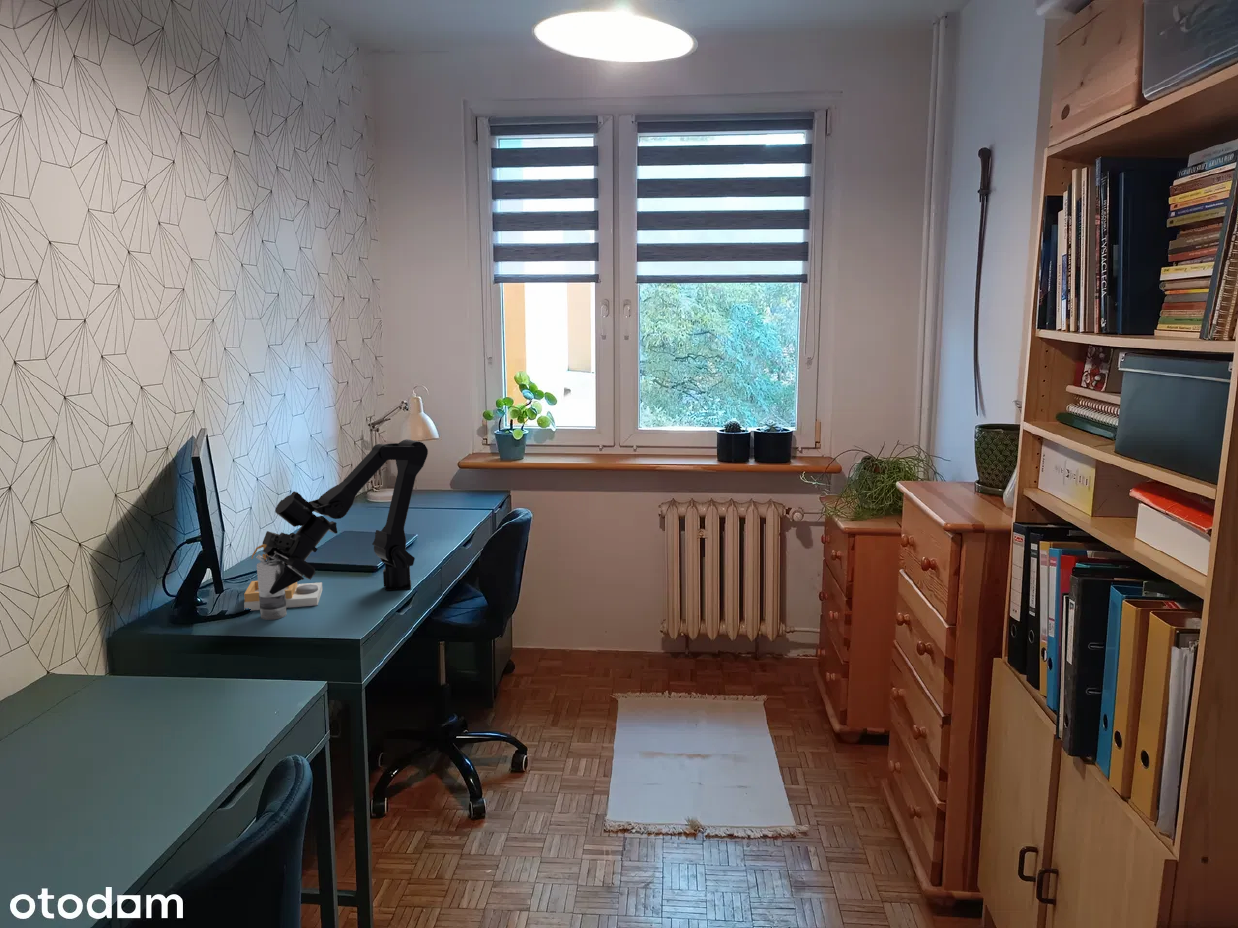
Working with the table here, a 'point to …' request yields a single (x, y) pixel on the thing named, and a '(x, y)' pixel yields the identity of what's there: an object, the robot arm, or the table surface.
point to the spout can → (269, 603)
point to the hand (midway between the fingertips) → (265, 590)
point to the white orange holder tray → (287, 595)
